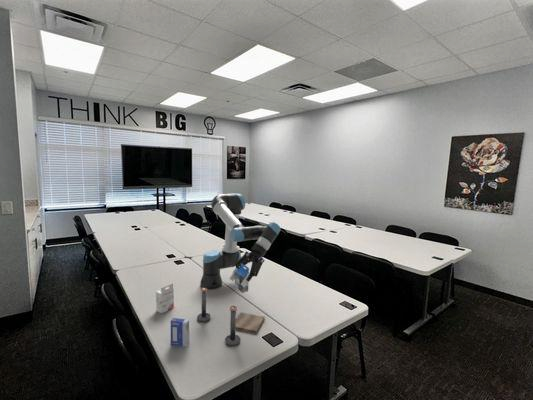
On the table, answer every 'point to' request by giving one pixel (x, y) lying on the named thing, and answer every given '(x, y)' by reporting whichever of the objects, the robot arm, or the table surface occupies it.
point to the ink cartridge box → (165, 299)
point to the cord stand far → (203, 308)
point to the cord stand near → (232, 329)
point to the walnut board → (249, 322)
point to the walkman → (179, 332)
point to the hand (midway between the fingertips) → (236, 282)
